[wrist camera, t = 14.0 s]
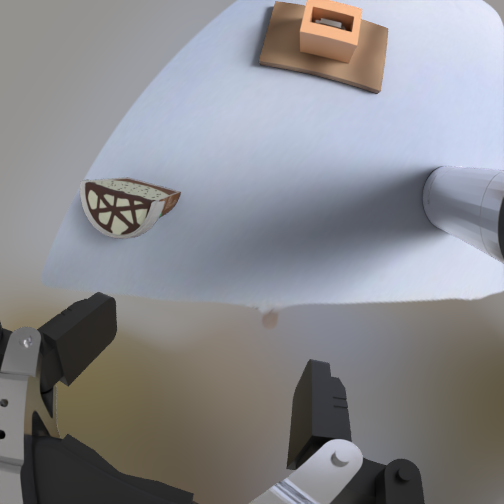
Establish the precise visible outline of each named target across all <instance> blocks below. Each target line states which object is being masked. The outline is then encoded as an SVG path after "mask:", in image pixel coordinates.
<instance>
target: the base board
mask: <svg viewBox="0 0 504 504" xmlns="http://www.w3.org/2000/svg"><path fill="white" fill-rule="evenodd" d="M305 7H306V6H304V5H298V4H292V3H285V2H277V1H275V5H274V8H273V11H272V15H271V18H270V22H269V26H268V29H267V33H266V37H265V40H264V44H263V48H262V51H261V55H260V59H259V62H260V65H264V66H271V67H277V68H283V69H288V70H293V71H298V72H303V73H307V74H312V75H316V76H320V77H324V78H328V79H332V80H335V81H339V82H342V83H346V84H349V85H352V86H356V87H359V88H362V89H365V90H368V91H371V92H374V93H376V94H378V93H379V92H380V91H381V85H382V79H383V72H384V64H385V56H386V48H387V38H388V28H386V27H383V26H380V25H377V24H374V23H371V22H368V21H365V20H362V19H361V23H360V30H359V37H358V44H357V47H356V49H355V51H354V53H353V56H352V58H351V60H350V62H349V64H348V63H345V62H341V61H338V60H334V59H330V58H326V57H322V56H318V55H314V54H309V53H305V52H300V29H301V24H302V20H303V16H304V11H305ZM315 23H317V24H321V25H326V26H330V27H334V28H338V29H342V30H345V27H344V26H341V23H340V22H336V21H332V20H327V19H323V18H321V21H319V20H316V22H315Z"/></svg>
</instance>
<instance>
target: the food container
mask: <svg viewBox="0 0 504 504" xmlns="http://www.w3.org/2000/svg"><path fill="white" fill-rule="evenodd" d="M180 193H181V192H180V191H177V190H173V189H169V188H166V187H162V186H159V185H155V184H151V183H147V182H144V181H140V180H136V179H132V178H128V177H127V178H113V179H101V180H90V181H89V180H88V179H87V180H83V181H81V182H80V196H81V203H82V206H83V209H84V212H85V214H86V216H87V218H88V220H89V221H90V222H91V224H92V225H93V226H94V227H95V228H96V229H97V230H98V231H100V232H101V233H103V234H105V235H107V236H110V237H113V238H119V239H124V238H134V237H137V236H140V235H142V234H144V233H145V232H147V231H148V230H149V229H150V228H151V227H152V226H153V225H154V224H155V223H156V221H157V219H158V218H160V217H161V216H163V215H165V214H166V213H168V212H169V211H170V210H171V209H172V208H173V207H174V206H175V205H176V203H177V201H178V199H179V197H180Z"/></svg>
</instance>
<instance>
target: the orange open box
mask: <svg viewBox="0 0 504 504" xmlns="http://www.w3.org/2000/svg"><path fill="white" fill-rule="evenodd" d="M361 15H362V9H360V8H357V7H353V6H350V5H346V4H342V3H338V2H334V1H330V0H307V3H306V7H305V11H304V16H303V20H302V24H301V29H300V52H305V53H309V54H314V55H318V56H322V57H326V58H330V59H334V60H338V61H341V62H345V63H348V64H349V62H350V60H351V58H352V56H353V53H354V51H355V49H356V47H357V44H358V37H359V30H360V23H361ZM321 18H323V19H327V20H332V21H336V22H340V23H341V26H344V27H345V30H342V29H338V28H334V27H330V26H326V25H321V24H317V23H315V22H316V20H319V21H321Z"/></svg>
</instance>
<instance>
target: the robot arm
mask: <svg viewBox="0 0 504 504" xmlns="http://www.w3.org/2000/svg"><path fill="white" fill-rule="evenodd" d="M423 206H424V210H425V213H426V215H427V217H428V219H429V220H430V221H431V223H432V224H433V225H435V226H436V227H437V228H439V229H441V230H443V231H445V232H447V233H449V234H451V235H453V236H455V237H457V238H459V239H461V240H462V241H464V242H466V243H468V244H470V245H472V246H474V247H475V248H477V249H479V250H481V251H482V252H484V253H486V254H488V255H489V256H491V257H493V258H495V259H497V260H498V261H500V262H502V263H503V264H504V170H494V169H483V168H469V167H452V166H445V167H440V168H438V169H436V170H435V171H433V172H432V173H431V175H430V176H429V177H428V179H427V181H426V183H425V186H424V190H423ZM116 332H117V321H116V301H115V299H114V298H112V297H110V296H108V295H105V294H103V293H100V292H97V293H96V294H94V295H93V296H91V297H90V298H88V299H84V300H81V301H78V302H75V303H74V304H72V305H71V306H69V307H68V308H67V309H65V310H64V311H62V312H61V314H58V315H56V316H55V317H54V318H52V319H51V320H50V321H48V322H47V323H45V324H44V325H43V326H41V327H40V328H39V329H37V330H36V329H34V328H32V327H22V328H19V329H17V330H15V331H14V332H12V331H9V330H6V329H3V328H2V326H1V323H0V504H198V503H197V502H195V501H193V495H194V494H193V493H190V492H186V491H183V490H181V489H178V488H175V487H172V486H169V485H167V484H164V483H162V482H159V481H154V480H149V479H143V478H139V477H135V476H130V475H126V474H123V473H121V472H119V471H117V470H116V469H115V468H114V467H113V466H112V465H110V464H109V463H108V462H107V461H106V460H104V459H103V458H102V457H101V456H100V455H99V454H98V453H97V452H96V451H95V450H93V449H91V448H90V447H88V446H86V445H85V444H83V443H81V442H80V441H78V440H77V439H75V438H73V437H72V436H71V435H69V434H67V435H66V437H65V438H64V439H61V438H60V434H59V431H58V428H57V414H56V412H57V409H56V399H57V397H56V396H57V395H56V394H57V388H56V383H57V382H58V381H61V382H62V383H64V384H65V385H67V386H69V385H70V384H71V383H72V382H73V381H74V380H75V379H76V378H77V377H78V376H79V375H80V374H81V373H82V372H83V370H85V369H86V367H87V366H88V365H89V364H90V363H91V362H92V361H93V360H94V359H95V358H96V357H97V356H98V355H99V354H100V353H101V352H102V351H103V350H104V349H105V348H106V347H107V346H108V345H109V344H110V343H111V342H112V341H113V340H114V337H115V335H116ZM347 408H348V406H347V401H346V391H345V387H344V386H343V384H342V383H341V381H340V379H339V378H336V377H331V373H330V364H329V363H326V362H322V361H317V360H312V359H310V360H309V361H308V363H307V365H306V367H305V369H304V372H303V374H302V376H301V379H300V380H299V383H298V385H297V387H296V389H295V393H294V397H293V404H292V417H291V429H290V441H289V450H288V460H287V469H290V470H296V471H294V472H293V473H292V474H291V475H290V476H288V477H287V478H286V479H285V480H283V481H282V482H279V483H277V484H276V485H274V486H273V487H271V488H270V489H269V490H267V491H266V492H264V493H263V494H262V495H260V496H259V497H257V498H256V499H255V500H253V501H252V502H250V503H249V504H425V503H424V496H423V488H422V481H421V475H420V471H419V469H418V468H417V466H416V465H415V464H414V463H412V462H411V461H409V460H406V459H397V460H394V461H392V462H390V463H389V464H388V465H383V464H380V463H376V462H373V461H370V460H367V459H365V458H363V456H362V453H361V451H360V450H359V448H358V447H357V446H356V445H354V444H353V443H352V440H351V431H350V422H349V413H348V409H347Z"/></svg>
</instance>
